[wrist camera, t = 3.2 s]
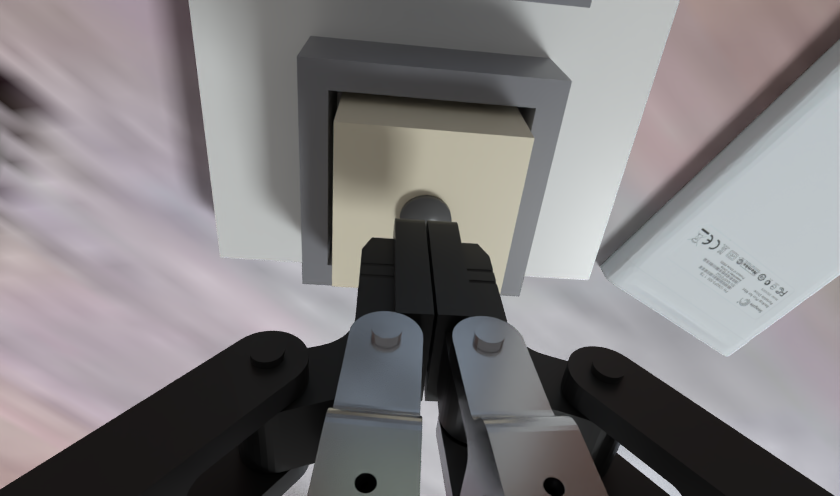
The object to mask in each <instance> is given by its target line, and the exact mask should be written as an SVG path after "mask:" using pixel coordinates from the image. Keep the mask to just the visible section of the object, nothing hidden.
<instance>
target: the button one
mask: <svg viewBox="0 0 840 496" xmlns="http://www.w3.org/2000/svg"><path fill="white" fill-rule="evenodd" d="M533 143H534V136H533V135H532V133H531V131H530V129H529V127H528V126H527V124H526V122H525V120H524V119H523V117H522V115H521V113H520V112H519V110H518V108H517V107H516V106H505V105H493V104H481V103H470V102H458V101H447V100H435V99H423V98H412V97H400V96H388V95H377V94H365V93H354V92H343V93H342V96H341V99H340V103H339V106H338V109H337V112H336V116H335V119H334V138H333V234H332V286H336V287H353V288H358V286H359V275H360V265H361V253H362V248H363V247H364V246H365V245H366V244H367V242H368V241H369V240H370V239H371V238H372V237H374V238H391V239H393V231H394V221H395V218H398V219H414V220H425V224H426V222H427V220H431V221H446V222H457V223H458V227H459V233H460V238H461V243H474V244H478V245H479V246H480V247H481V248H482V249H483V250H484V251H485V252H486V253H487V254H488V255H489V256H490V260H491V264H492V268H493V273H494V275H495V279H496V284H497V286H498V290H499V293H501V288H502V283H503V279H504V274H505V270H506V265H507V261H508V256H509V252H510V247H511V243H512V238H513V234H514V229H515V225H516V220H517V215H518V211H519V206H520V202H521V197H522V193H523V188H524V184H525V179H526V175H527V170H528V166H529V161H530V157H531V152H532V147H533Z"/></svg>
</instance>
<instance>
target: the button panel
mask: <svg viewBox="0 0 840 496" xmlns="http://www.w3.org/2000/svg"><path fill="white" fill-rule="evenodd" d="M188 1H189V9H190V17H191V25H192V33H193V41H194V49H195V57H196V66H197V74H198V82H199V90H200V98H201V106H202V114H203V122H204V130H205V138H206V147H207V155H208V163H209V171H210V179H211V187H212V195H213V203H214V211H215V219H216V228H217V236H218V244H219V252H220V258H235V259H251V260H268V261H284V262H300V263H302V280H303V284H315V285H332V234H333V138H334V119H335V116H336V112H337V109H338V106H339V103H340V99H341V96H342V93H343V92H354V93H365V94H377V95H388V96H400V97H412V98H423V99H435V100H447V101H458V102H470V103H481V104H493V105H505V106H516V107H517V108H518V110H519V112H520V113H521V115H522V117H523V119H524V120H525V122H526V124H527V126H528V127H529V129H530V131H531V133H532V135H533V136H534V143H533V147H532V152H531V157H530V161H529V166H528V170H527V175H526V179H525V184H524V188H523V193H522V197H521V202H520V206H519V211H518V215H517V220H516V225H515V229H514V234H513V238H512V243H511V247H510V252H509V256H508V261H507V265H506V270H505V274H504V279H503V283H502V288H501V293H500V295H503V296H520V292H521V287H522V283H523V279H524V276H528V277H545V278H561V279H577V280H589V278H590V275H591V271H592V268H593V265H594V262H595V259H596V256H597V253H598V250H599V247H600V244H601V241H602V238H603V235H604V232H605V228H606V225H607V222H608V219H609V216H610V213H611V210H612V207H613V204H614V201H615V198H616V195H617V192H618V188H619V185H620V182H621V179H622V176H623V173H624V170H625V167H626V164H627V161H628V158H629V155H630V152H631V149H632V145H633V142H634V139H635V136H636V133H637V130H638V127H639V124H640V121H641V118H642V115H643V112H644V109H645V106H646V102H647V99H648V96H649V93H650V90H651V87H652V84H653V81H654V78H655V75H656V72H657V69H658V66H659V62H660V59H661V56H662V53H663V50H664V47H665V44H666V41H667V38H668V35H669V32H670V29H671V26H672V23H673V19H674V16H675V13H676V10H677V7H678V4H679V1H680V0H188Z"/></svg>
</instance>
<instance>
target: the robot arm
mask: <svg viewBox="0 0 840 496" xmlns="http://www.w3.org/2000/svg"><path fill="white" fill-rule="evenodd" d="M424 390H425V401H438V409H439V416H438V422H437V428H436V437H437V443H438V449H439V455H440V461H441V467H442V473H443V479H444V485H445V491H446V496H670V495H669V494H668V493H666V492H665V491H664V490H663V489H661V488H660V487H659V486H658V485H656V484H655V483H654V482H653V481H651V480H650V479H649V478H648V477H646V476H645V475H644V474H643V473H641V472H640V471H639V470H638V469H636V468H635V467H634V466H633V465H631V464H630V463H629V462H628V461H626V460H625V459H624V458H623V457H621V456H620V455H619V454H618V453H616V452H617V450H618V448H619V446H620V444H621V445H622V446H624V447H625V448H626V449H627V450H629V451H630V452H631V453H633V454H634V455H635V456H636V457H638V458H639V459H640V460H641V461H643V462H644V463H645V464H647V465H648V466H649V467H650V468H652V469H653V470H654V471H655V472H657V473H658V474H659V475H661V476H662V477H663V478H664V479H666V480H667V481H668V482H670V483H671V484H672V485H673V486H674V487H675V488H676V489H677V490H678V491H679V492H680V494H681V495H682V496H834V495H832V494H831V493H829V492H828V491H826V490H825V489H823V488H822V487H820V486H819V485H817V484H816V483H814V482H813V481H811V480H810V479H808V478H807V477H805V476H804V475H802V474H801V473H799V472H798V471H796V470H795V469H793V468H792V467H790V466H789V465H787V464H786V463H784V462H783V461H781V460H780V459H778V458H777V457H775V456H774V455H772V454H771V453H769V452H768V451H766V450H765V449H763V448H762V447H760V446H759V445H757V444H756V443H754V442H753V441H751V440H750V439H748V438H747V437H745V436H744V435H742V434H741V433H739V432H738V431H736V430H735V429H733V428H732V427H730V426H729V425H727V424H726V423H724V422H723V421H721V420H720V419H718V418H717V417H715V416H714V415H712V414H711V413H709V412H708V411H706V410H705V409H703V408H702V407H700V406H699V405H697V404H696V403H694V402H693V401H691V400H690V399H688V398H687V397H685V396H684V395H682V394H681V393H679V392H678V391H676V390H675V389H673V388H672V387H670V386H669V385H667V384H666V383H664V382H663V381H661V380H660V379H658V378H657V377H655V376H654V375H652V374H651V373H649V372H648V371H646V370H645V369H643V368H642V367H640V366H639V365H637V364H636V363H634V362H633V361H631V360H630V359H628V358H627V357H625V356H623V355H622V354H620V353H618V352H616V351H613V350H610V349H607V348H603V347H596V346H589V347H583V348H580V349H578V350H576V351H574V352H573V353H572V354H571V356H570V357H569V360H568V361H565V360H562V359H558V358H554V357H551V356H547V355H544V354H541V353H538V352H536V351H534V350H531V349H530V348H528V347H526V344H525V342H524V339H523V337H522V336H521V334H520V333H519V332H518V330H516V329H515V328H514V327H513V326H512V325H510V324H509V323H507V319H506V316H505V312H504V308H503V305H502V301H501V297H500V293H499V290H498V286H497V284H496V279H495V275H494V273H493V268H492V264H491V260H490V256H489V255H488V254H487V253H486V252H485V251H484V250H483V249H482V248H481V247H480V246H479V245H478V244H474V243H461V238H460V233H459V227H458V223H457V222H446V221H431V220H427V222H426V224H425V220H414V219H398V218H395V221H394V231H393V239H391V238H374V237H372V238H371V239H370V240H369V241H368V242H367V244H366V245H365V246H364V247H363V248H362V253H361V265H360V275H359V286H358V296H357V307H356V318H355V322H354V323H353V325H352V326H351V328H350V331H349V332H348V333H347V334H346V335H344V336H343V337H342V338H340V339H338V340H336V341H334V342H331V343H329V344H325V345H321V346H316V347H311V348H307V347H306V345H305V344H304V343H303V342H302V340H300V339H299V338H298V337H296V336H294V335H292V334H289V333H286V332H281V331H264V332H258V333H254V334H252V335H249V336H247V337H245V338H243V339H241V340H239V341H238V342H236V343H235V344H233V345H231V346H230V347H228V348H227V349H225V350H223V351H222V352H220V353H219V354H217V355H215V356H214V357H212V358H211V359H209V360H207V361H206V362H204V363H202V364H201V365H199V366H198V367H196V368H194V369H193V370H191V371H190V372H188V373H186V374H185V375H183V376H182V377H180V378H178V379H177V380H175V381H174V382H172V383H170V384H169V385H167V386H166V387H164V388H162V389H161V390H159V391H158V392H156V393H154V394H153V395H151V396H150V397H148V398H146V399H145V400H143V401H141V402H140V403H138V404H137V405H135V406H133V407H132V408H130V409H129V410H127V411H125V412H124V413H122V414H121V415H119V416H117V417H116V418H114V419H113V420H111V421H109V422H108V423H106V424H105V425H103V426H101V427H100V428H98V429H97V430H95V431H93V432H92V433H90V434H89V435H87V436H85V437H84V438H82V439H80V440H79V441H77V442H76V443H74V444H72V445H71V446H69V447H68V448H66V449H64V450H63V451H61V452H60V453H58V454H56V455H55V456H53V457H52V458H50V459H48V460H47V461H45V462H44V463H42V464H40V465H39V466H37V467H36V468H34V469H32V470H31V471H29V472H28V473H26V474H24V475H23V476H21V477H19V478H18V479H16V480H15V481H13V482H11V483H10V484H8V485H7V486H5V487H3V488H2V489H0V496H282V495H283V494H284V493H285V492H286V491H287V490H288V489H289V488H290V487H291V486H292V485H293V484H295V483H296V482H297V481H298V480H299V479H300V478H301V477H302V476H303V474H304V473H305V472H306V470H307V468H308V466H309V464H313V463H315V464H314V469H313V473H312V477H311V482H310V486H309V490H308V495H307V496H420V472H421V445H422V416H420V402H421V401H422V398H423V391H424Z"/></svg>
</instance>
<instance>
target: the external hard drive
mask: <svg viewBox="0 0 840 496" xmlns="http://www.w3.org/2000/svg"><path fill="white" fill-rule="evenodd" d="M600 267H601V270H602V272H603V273H604V276H605V277H606V279H607V280H608V281H610V282H611V283H612V284H613V285H615V286H616V287H618V288H619V289H621V290H622V291H624V292H626V293H627V294H629V295H630V296H632V297H633V298H635V299H637V300H638V301H640V302H642V303H643V304H645V305H646V306H648V307H649V308H651V309H652V310H654V311H655V312H657V313H658V314H660V315H662V316H663V317H665V318H666V319H668V320H669V321H671V322H672V323H674V324H675V325H677V326H678V327H680V328H681V329H683V330H685V331H686V332H688V333H689V334H691V335H692V336H694V337H695V338H697V339H698V340H700V341H702V342H703V343H705V344H706V345H708V346H709V347H711V348H712V349H714V350H716V351H717V352H718V353H720V354H721V355H723V356H726V357H728V356H730V355H731V354H732V353H734V352H735V351H737V350H738V349H739V348H741V347H742V346H744V345H745V344H746V343H748V342H749V341H750V340H751V339H752V338H754V337H755V336H757V335H758V334H759V333H761V332H762V331H764V330H765V329H766V328H768V327H769V326H771V325H772V324H773V323H775V322H776V321H777V320H779V319H780V318H782V317H783V316H784V315H786V314H787V313H788V312H790V311H791V310H792V309H794V308H795V307H797V306H798V305H799V304H801V303H802V302H803V301H805V300H806V299H807V298H809V297H810V296H812V295H813V294H814V293H816V292H817V291H818V290H820V289H821V288H822V287H824V286H825V285H827V284H828V283H829V282H831V281H832V280H833V279H835V278H836V277H837V276H839V275H840V39H839V40H838V41H837V42H836V43H835V44H834V45H833V46H832V47H831V48H830V49H828V50H827V51H826V52H825V53H824V54H823V55H822V56H821V57H820V58H819V59H818V60H817V61H816V62H815V63H814V64H813V65H812V66H811V67H809V68H808V69H807V70H806V71H805V72H804V73H803V74H802V75H801V76H800V77H799V78H798V79H797V80H796V81H795V82H794V83H793V84H792V85H791V86H790V87H789V88H788V89H786V90H785V91H784V92H783V93H782V94H781V95H780V96H779V97H778V98H777V99H776V100H775V101H774V102H773V103H772V104H771V105H770V106H769V107H768V108H766V109H765V110H764V111H763V112H762V113H761V114H760V115H759V116H758V117H757V118H756V119H755V120H754V121H753V122H752V123H751V124H750V125H748V126H747V127H746V128H745V129H744V130H743V131H742V132H741V133H740V134H739V135H738V136H737V137H736V138H735V139H734V140H733V141H732V142H731V143H730V144H729V145H727V146H726V147H725V148H724V149H723V150H722V151H721V152H720V153H719V154H718V155H717V156H716V157H715V158H714V159H713V160H712V161H710V162H709V163H708V164H707V165H706V166H705V167H704V168H703V169H702V170H701V171H700V172H699V173H698V174H697V175H696V176H695V177H694V178H693V179H692V180H691V181H689V182H688V183H687V184H686V185H685V186H684V187H683V188H682V189H681V190H680V191H679V192H678V193H677V194H676V195H675V196H674V197H673V198H672V199H670V200H669V201H668V202H667V203H666V204H665V205H664V206H663V207H662V208H661V209H660V210H659V211H658V212H657V213H656V214H655V215H654V216H653V217H652V218H651V219H649V220H648V221H647V222H646V223H645V224H644V225H643V226H642V227H641V228H640V229H639V230H638V231H637V232H636V233H635V234H634V235H633V236H631V237H630V238H629V239H628V240H627V241H626V242H625V243H624V244H623V245H622V246H621V247H620V248H619V249H618V250H617V251H615V252H614V253H613V254H612V255H611V256H610V257H609V258H608V259H607V260H606V261H605V262H604V263H603V264H602V265H601V266H600Z"/></svg>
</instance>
